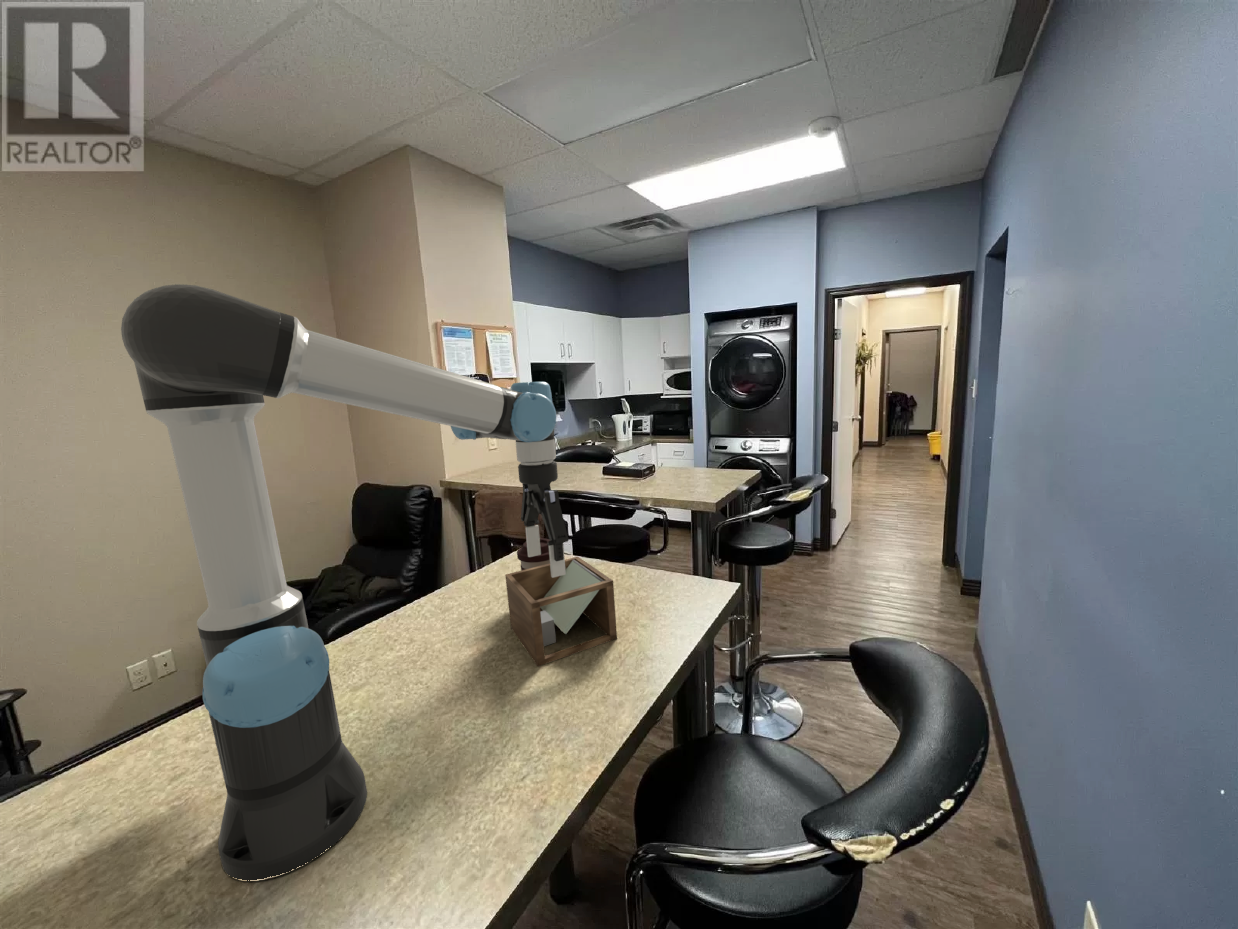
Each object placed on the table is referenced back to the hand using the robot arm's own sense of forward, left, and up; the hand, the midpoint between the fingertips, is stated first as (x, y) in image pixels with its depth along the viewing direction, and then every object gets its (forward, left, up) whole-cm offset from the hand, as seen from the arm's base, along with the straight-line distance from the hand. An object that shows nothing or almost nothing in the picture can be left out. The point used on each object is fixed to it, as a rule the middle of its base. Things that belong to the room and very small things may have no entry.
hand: (545, 565), depth 97 cm
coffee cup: (+4, +17, -16) cm, 24 cm away
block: (0, 0, -13) cm, 13 cm away
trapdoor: (+5, 0, -8) cm, 9 cm away
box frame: (+2, 0, -16) cm, 16 cm away
